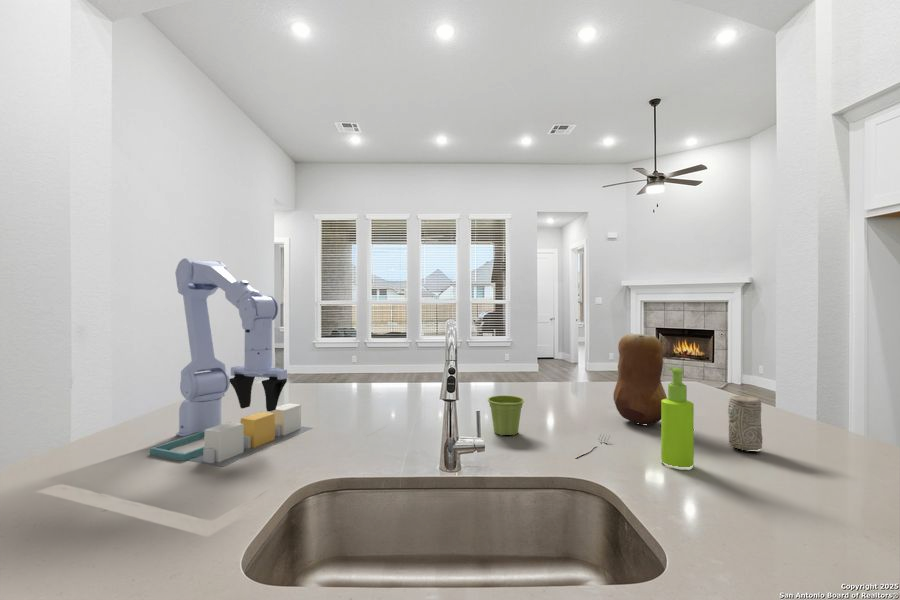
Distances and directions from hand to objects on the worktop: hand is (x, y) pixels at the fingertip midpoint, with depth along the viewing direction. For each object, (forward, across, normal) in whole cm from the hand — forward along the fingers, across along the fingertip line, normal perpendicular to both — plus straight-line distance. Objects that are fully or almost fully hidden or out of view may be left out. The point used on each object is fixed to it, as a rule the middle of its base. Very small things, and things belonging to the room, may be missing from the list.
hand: (258, 408), depth 96 cm
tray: (+9, -10, -7) cm, 15 cm away
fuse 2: (+8, 0, +9) cm, 12 cm away
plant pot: (+9, +50, +32) cm, 60 cm away
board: (+9, 0, 0) cm, 9 cm away
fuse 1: (+8, 0, -9) cm, 12 cm away
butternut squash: (+9, +83, +54) cm, 99 cm away
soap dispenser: (+9, +88, +24) cm, 92 cm away
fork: (+10, +71, +27) cm, 77 cm away
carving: (+9, +104, +39) cm, 111 cm away
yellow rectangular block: (+8, 0, 0) cm, 8 cm away
